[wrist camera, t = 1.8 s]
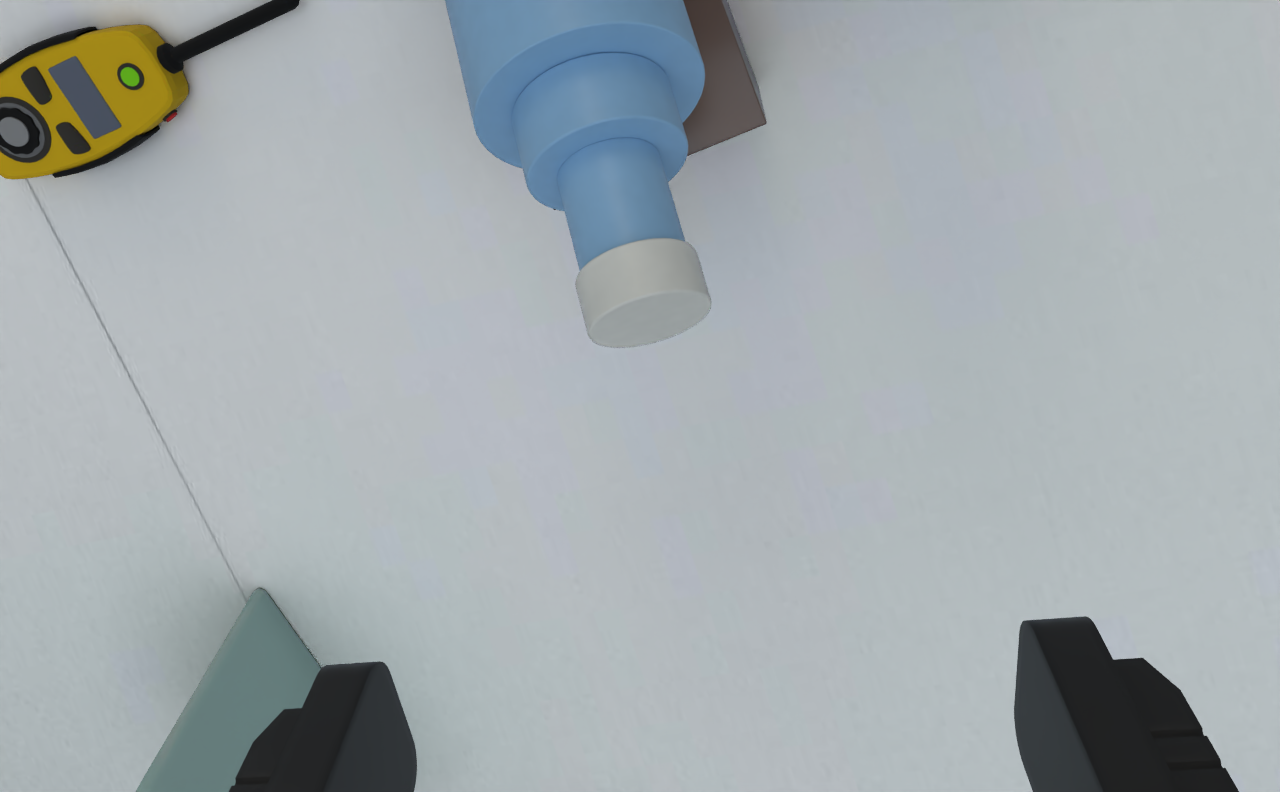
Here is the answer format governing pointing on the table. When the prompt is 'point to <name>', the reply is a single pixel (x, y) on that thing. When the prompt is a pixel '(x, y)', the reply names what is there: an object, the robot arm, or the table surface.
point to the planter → (234, 702)
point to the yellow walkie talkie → (98, 93)
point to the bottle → (596, 142)
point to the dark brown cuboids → (721, 79)
